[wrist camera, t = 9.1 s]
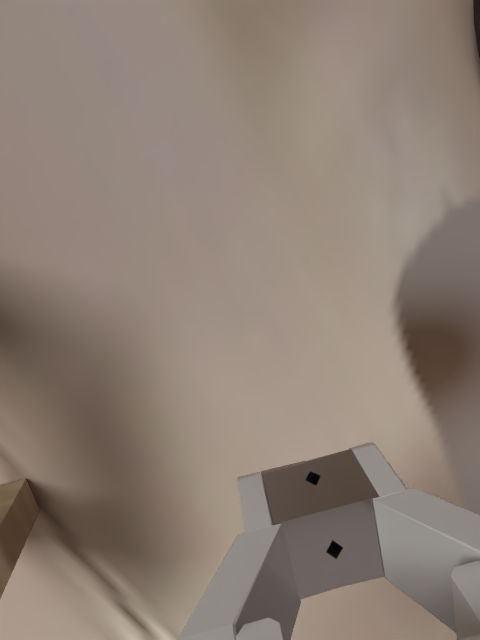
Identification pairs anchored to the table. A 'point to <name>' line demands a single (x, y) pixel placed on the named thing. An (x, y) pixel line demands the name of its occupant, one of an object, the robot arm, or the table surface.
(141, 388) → the table surface
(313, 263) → the table surface
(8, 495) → the bridge
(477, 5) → the top hat
